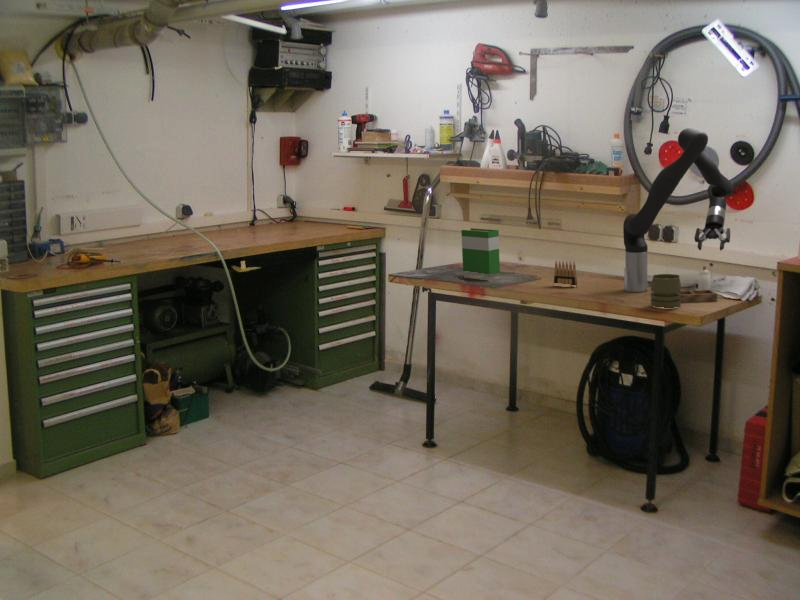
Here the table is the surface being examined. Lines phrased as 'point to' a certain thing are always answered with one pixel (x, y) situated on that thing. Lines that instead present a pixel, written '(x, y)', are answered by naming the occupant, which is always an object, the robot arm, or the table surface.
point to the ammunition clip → (565, 273)
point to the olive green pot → (666, 291)
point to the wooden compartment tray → (698, 296)
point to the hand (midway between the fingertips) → (710, 249)
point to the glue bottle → (704, 279)
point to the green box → (480, 251)
